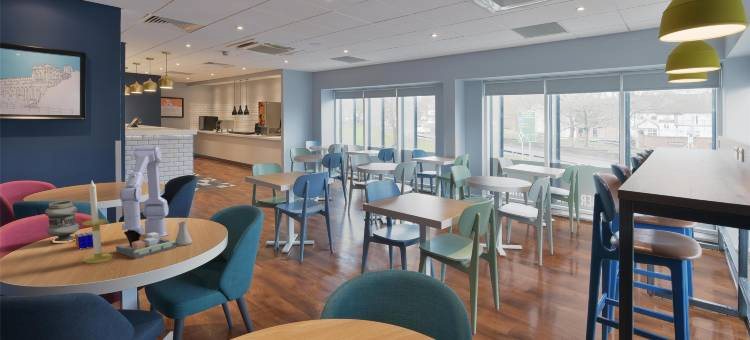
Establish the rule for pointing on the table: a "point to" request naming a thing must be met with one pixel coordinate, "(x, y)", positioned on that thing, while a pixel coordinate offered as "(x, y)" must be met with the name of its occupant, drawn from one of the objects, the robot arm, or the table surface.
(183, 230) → the flask
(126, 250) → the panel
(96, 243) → the candle
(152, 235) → the pale grey square block
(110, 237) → the table surface
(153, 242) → the pale blue tilted box
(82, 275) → the table surface
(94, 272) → the table surface
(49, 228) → the apothecary jar
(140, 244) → the clay pink cube
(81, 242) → the rubik's cube
